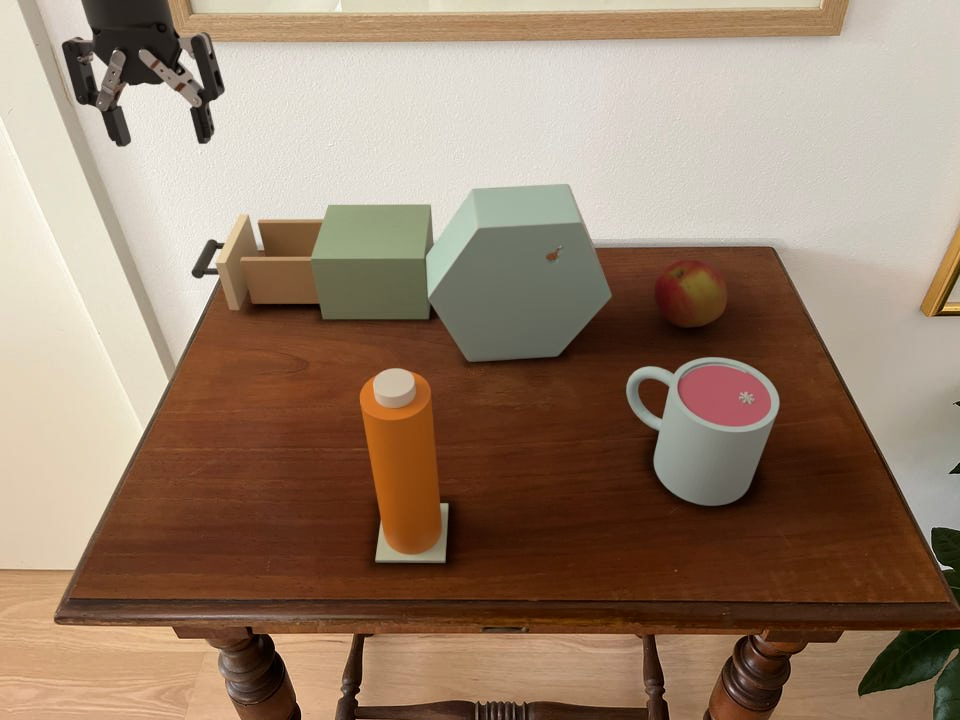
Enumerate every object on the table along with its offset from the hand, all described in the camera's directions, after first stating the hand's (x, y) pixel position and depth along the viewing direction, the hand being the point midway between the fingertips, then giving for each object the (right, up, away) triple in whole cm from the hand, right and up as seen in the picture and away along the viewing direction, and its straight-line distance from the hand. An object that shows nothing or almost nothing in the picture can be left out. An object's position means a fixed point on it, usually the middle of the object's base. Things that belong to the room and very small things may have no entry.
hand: (165, 143), depth 76 cm
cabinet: (+21, -14, +15) cm, 29 cm away
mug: (+53, -32, -5) cm, 62 cm away
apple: (+57, -18, +10) cm, 61 cm away
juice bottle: (+27, -38, -12) cm, 48 cm away
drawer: (+7, -13, +15) cm, 21 cm away
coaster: (+27, -38, -12) cm, 48 cm away
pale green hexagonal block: (+37, -20, +8) cm, 43 cm away
